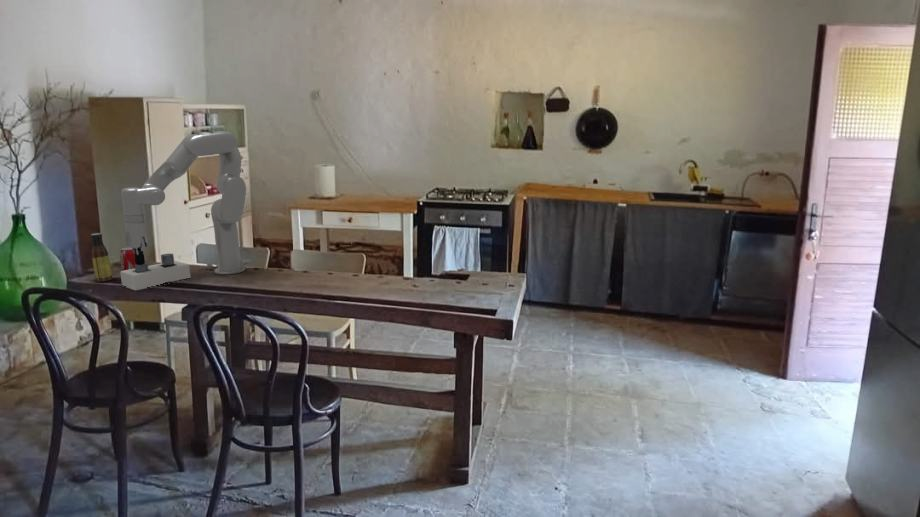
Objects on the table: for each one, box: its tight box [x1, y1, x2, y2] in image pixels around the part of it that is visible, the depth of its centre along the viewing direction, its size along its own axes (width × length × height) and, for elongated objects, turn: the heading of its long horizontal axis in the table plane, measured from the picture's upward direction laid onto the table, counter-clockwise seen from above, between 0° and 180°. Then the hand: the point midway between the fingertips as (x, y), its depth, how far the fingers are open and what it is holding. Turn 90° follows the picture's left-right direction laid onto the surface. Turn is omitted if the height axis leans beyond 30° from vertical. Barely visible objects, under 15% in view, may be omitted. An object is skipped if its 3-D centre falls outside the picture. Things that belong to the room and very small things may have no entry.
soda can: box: [119, 246, 135, 271], centre depth 285 cm, size 7×7×12 cm
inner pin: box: [160, 253, 175, 268], centre depth 277 cm, size 5×5×6 cm
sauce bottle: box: [90, 232, 113, 283], centre depth 276 cm, size 6×6×20 cm
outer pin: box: [134, 261, 149, 273], centre depth 269 cm, size 5×5×6 cm
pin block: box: [120, 260, 192, 292], centre depth 274 cm, size 23×12×6 cm, turn 139°
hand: (140, 263), depth 268 cm, fingers closed
